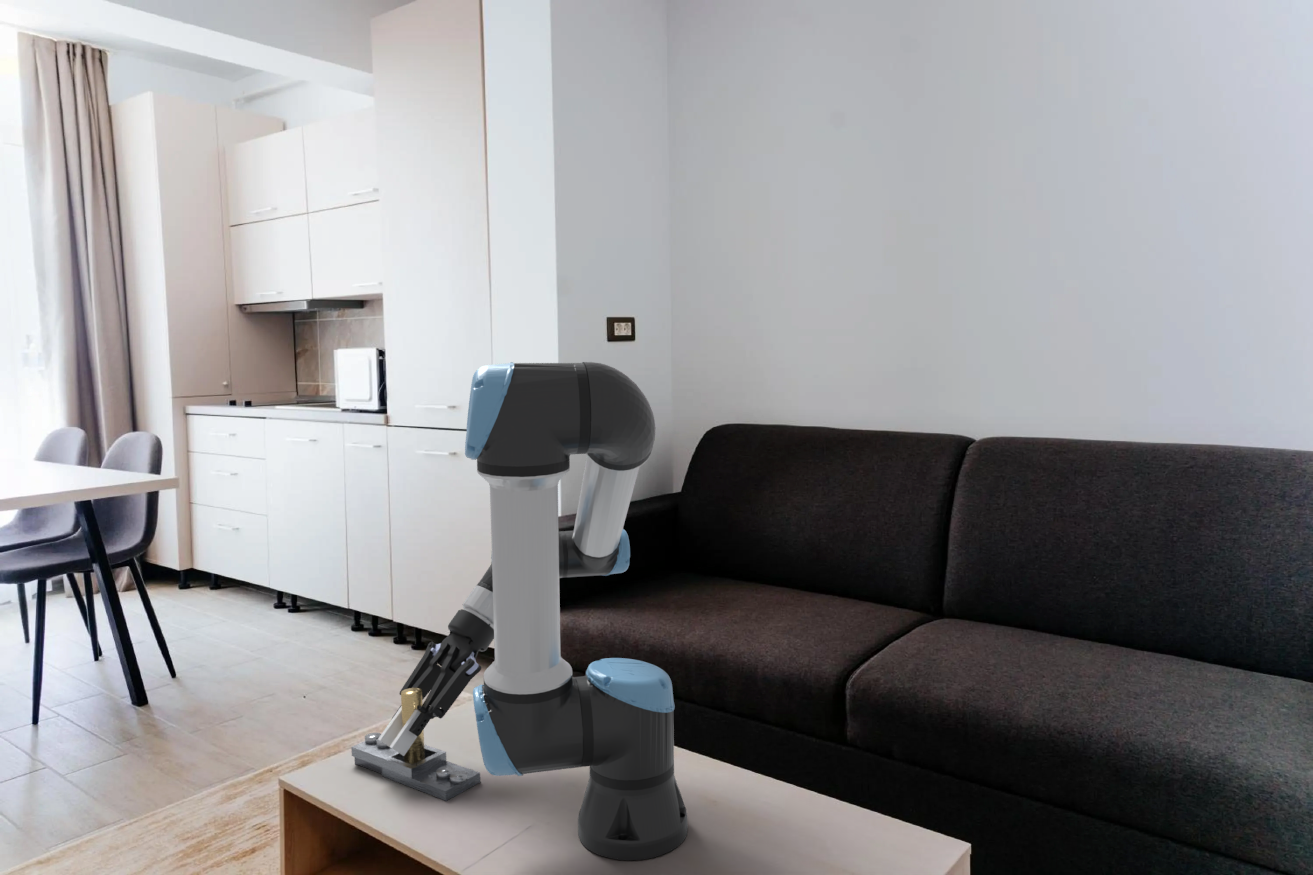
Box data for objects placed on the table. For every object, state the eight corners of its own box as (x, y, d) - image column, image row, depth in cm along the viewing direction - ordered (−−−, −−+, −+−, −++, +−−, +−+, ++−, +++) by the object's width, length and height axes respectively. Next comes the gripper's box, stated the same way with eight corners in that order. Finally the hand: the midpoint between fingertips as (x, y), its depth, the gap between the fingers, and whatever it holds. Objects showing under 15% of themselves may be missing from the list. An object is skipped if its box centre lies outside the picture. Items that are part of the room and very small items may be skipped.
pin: (427, 759, 139) (425, 692, 138) (408, 765, 137) (405, 696, 136) (420, 752, 141) (417, 686, 140) (401, 757, 140) (397, 690, 138)
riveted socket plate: (481, 782, 136) (481, 758, 135) (447, 801, 130) (446, 776, 130) (386, 748, 148) (385, 726, 148) (350, 764, 143) (349, 741, 142)
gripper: (521, 642, 142) (433, 775, 132) (467, 622, 154) (383, 742, 144) (492, 617, 138) (399, 752, 128) (439, 598, 150) (350, 721, 140)
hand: (391, 747), depth 136 cm, fingers closed on pin, 3 cm apart
